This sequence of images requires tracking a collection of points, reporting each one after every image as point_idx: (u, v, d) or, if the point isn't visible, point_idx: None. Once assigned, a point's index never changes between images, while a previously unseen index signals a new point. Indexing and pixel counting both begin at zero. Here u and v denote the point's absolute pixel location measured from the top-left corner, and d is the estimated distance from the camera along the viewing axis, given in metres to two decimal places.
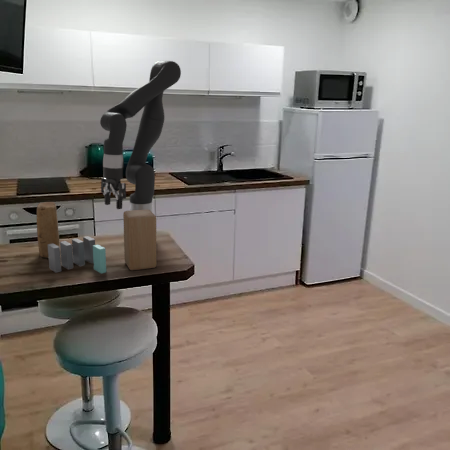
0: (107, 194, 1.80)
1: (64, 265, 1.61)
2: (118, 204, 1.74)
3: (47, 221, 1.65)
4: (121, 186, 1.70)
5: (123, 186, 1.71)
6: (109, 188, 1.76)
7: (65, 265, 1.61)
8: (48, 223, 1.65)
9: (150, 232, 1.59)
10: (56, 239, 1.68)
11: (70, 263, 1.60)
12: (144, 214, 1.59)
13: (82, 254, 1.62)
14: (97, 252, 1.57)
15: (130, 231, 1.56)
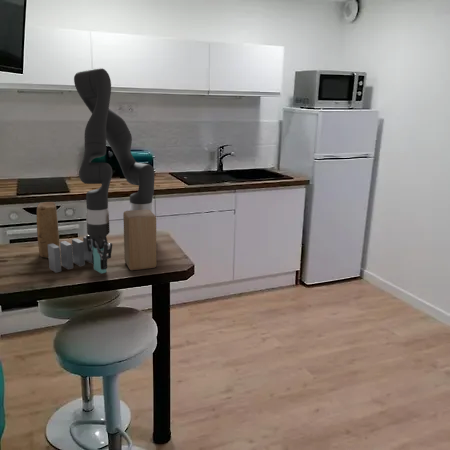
0: None
1: (64, 265, 1.61)
2: (102, 264, 1.56)
3: (47, 221, 1.65)
4: (107, 247, 1.52)
5: (109, 247, 1.53)
6: (95, 245, 1.57)
7: (65, 265, 1.61)
8: (48, 223, 1.65)
9: (150, 232, 1.59)
10: (56, 239, 1.68)
11: (70, 263, 1.60)
12: (144, 214, 1.59)
13: (82, 254, 1.62)
14: (97, 252, 1.57)
15: (130, 231, 1.56)
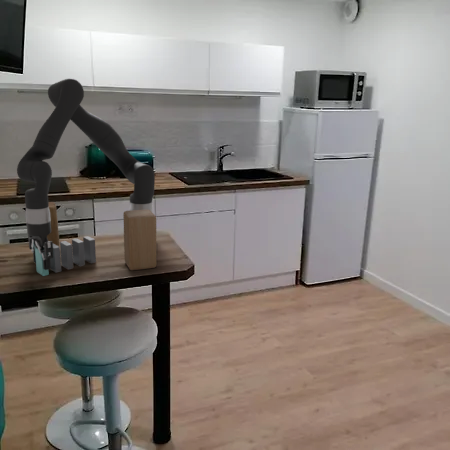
0: None
1: (64, 265, 1.61)
2: (45, 264, 1.51)
3: None
4: (47, 245, 1.47)
5: (49, 245, 1.48)
6: (36, 245, 1.53)
7: (65, 265, 1.61)
8: None
9: (150, 232, 1.59)
10: (56, 239, 1.68)
11: (70, 263, 1.60)
12: (144, 214, 1.59)
13: (82, 254, 1.62)
14: (38, 253, 1.53)
15: (130, 231, 1.56)
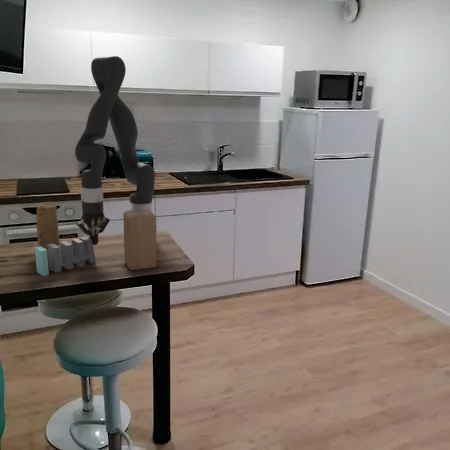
0: None
1: (64, 265, 1.61)
2: None
3: (47, 221, 1.65)
4: None
5: (79, 226, 1.61)
6: None
7: (65, 265, 1.61)
8: (48, 223, 1.65)
9: (150, 232, 1.59)
10: (56, 239, 1.68)
11: (70, 263, 1.60)
12: (144, 214, 1.59)
13: (82, 254, 1.62)
14: (38, 253, 1.53)
15: (130, 231, 1.56)
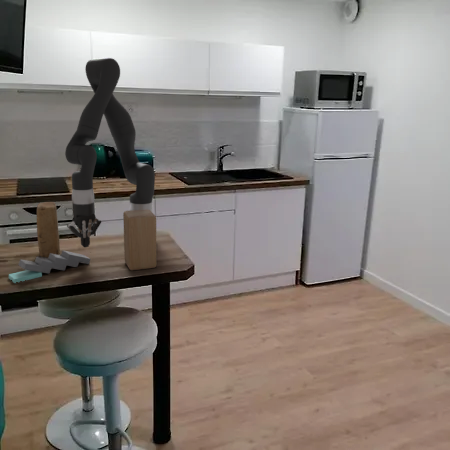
0: None
1: None
2: None
3: (47, 221, 1.65)
4: None
5: (70, 228, 1.59)
6: None
7: None
8: (48, 223, 1.65)
9: (150, 232, 1.59)
10: (56, 239, 1.68)
11: (60, 266, 1.57)
12: (144, 214, 1.59)
13: (67, 261, 1.59)
14: None
15: (130, 231, 1.56)
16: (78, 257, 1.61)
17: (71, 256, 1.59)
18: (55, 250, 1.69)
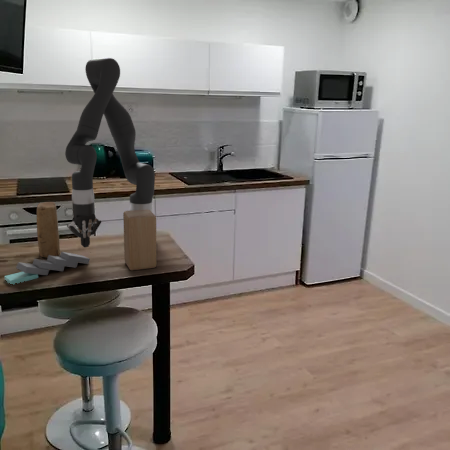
0: None
1: None
2: None
3: (47, 221, 1.65)
4: None
5: (70, 228, 1.59)
6: None
7: None
8: (48, 223, 1.65)
9: (150, 232, 1.59)
10: (56, 239, 1.68)
11: (59, 267, 1.56)
12: (144, 214, 1.59)
13: (67, 262, 1.58)
14: None
15: (130, 231, 1.56)
16: (78, 257, 1.61)
17: (71, 257, 1.59)
18: (55, 250, 1.69)
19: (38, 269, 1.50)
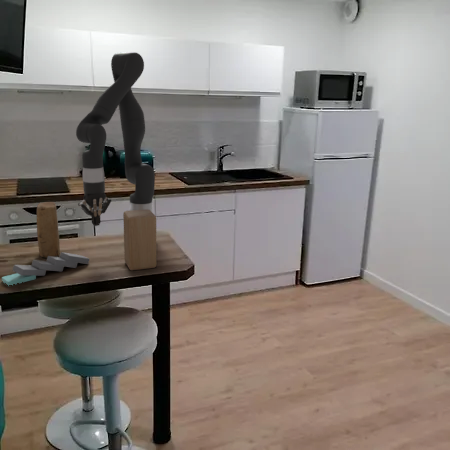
0: None
1: None
2: None
3: (47, 221, 1.65)
4: (79, 206, 1.62)
5: (81, 207, 1.62)
6: None
7: None
8: (48, 223, 1.65)
9: (150, 232, 1.59)
10: (56, 239, 1.68)
11: (58, 268, 1.56)
12: (144, 214, 1.59)
13: (66, 263, 1.58)
14: None
15: (130, 231, 1.56)
16: (77, 258, 1.61)
17: (71, 257, 1.59)
18: (55, 250, 1.69)
19: (35, 270, 1.49)
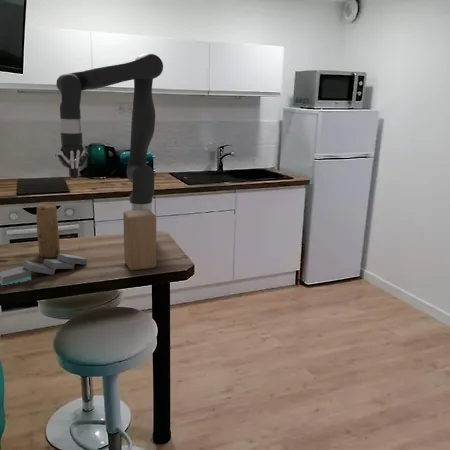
0: None
1: None
2: None
3: (47, 221, 1.65)
4: (57, 157, 1.64)
5: (58, 158, 1.64)
6: None
7: None
8: (48, 223, 1.65)
9: (150, 232, 1.59)
10: (56, 239, 1.68)
11: (49, 271, 1.53)
12: (144, 214, 1.59)
13: (64, 265, 1.57)
14: None
15: (130, 231, 1.56)
16: (75, 259, 1.60)
17: (69, 258, 1.58)
18: (55, 250, 1.69)
19: (17, 274, 1.46)
